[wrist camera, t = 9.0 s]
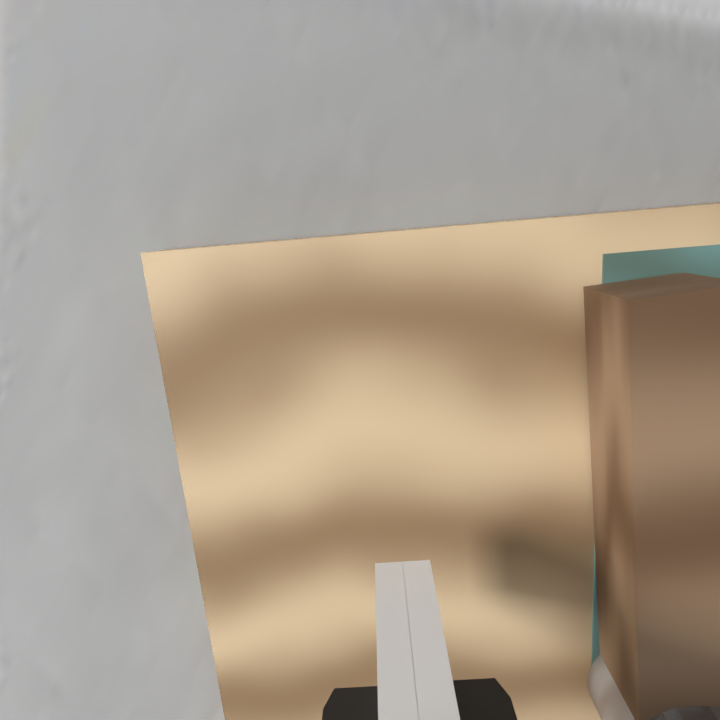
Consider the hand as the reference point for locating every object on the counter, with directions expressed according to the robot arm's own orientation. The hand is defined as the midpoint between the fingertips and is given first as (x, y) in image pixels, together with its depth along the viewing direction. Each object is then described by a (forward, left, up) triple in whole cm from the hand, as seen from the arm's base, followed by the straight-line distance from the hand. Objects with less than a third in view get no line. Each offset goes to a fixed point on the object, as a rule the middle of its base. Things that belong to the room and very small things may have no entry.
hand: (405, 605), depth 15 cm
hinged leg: (-1, -8, -4) cm, 9 cm away
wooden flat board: (-1, -3, -6) cm, 7 cm away
